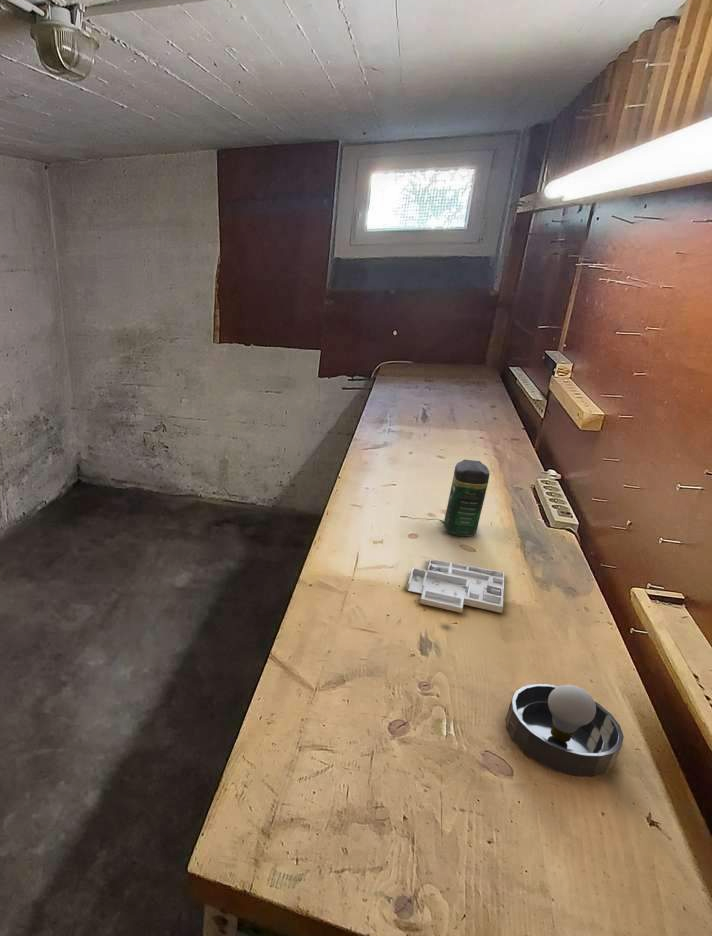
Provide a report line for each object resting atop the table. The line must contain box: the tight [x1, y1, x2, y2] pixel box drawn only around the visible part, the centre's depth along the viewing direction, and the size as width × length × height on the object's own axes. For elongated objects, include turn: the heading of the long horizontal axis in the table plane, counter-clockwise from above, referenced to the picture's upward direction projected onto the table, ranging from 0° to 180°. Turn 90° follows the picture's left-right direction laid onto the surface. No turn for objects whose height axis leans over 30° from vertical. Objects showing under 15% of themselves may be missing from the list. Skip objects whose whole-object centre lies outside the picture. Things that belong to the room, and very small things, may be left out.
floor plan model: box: [406, 558, 505, 614], centre depth 122 cm, size 19×25×2 cm
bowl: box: [504, 683, 625, 778], centre depth 86 cm, size 14×14×5 cm
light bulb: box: [548, 684, 596, 742], centre depth 85 cm, size 6×6×10 cm
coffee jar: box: [443, 459, 491, 537], centre depth 145 cm, size 10×8×19 cm
